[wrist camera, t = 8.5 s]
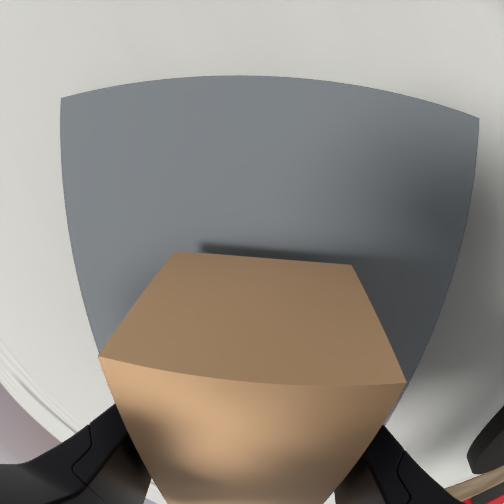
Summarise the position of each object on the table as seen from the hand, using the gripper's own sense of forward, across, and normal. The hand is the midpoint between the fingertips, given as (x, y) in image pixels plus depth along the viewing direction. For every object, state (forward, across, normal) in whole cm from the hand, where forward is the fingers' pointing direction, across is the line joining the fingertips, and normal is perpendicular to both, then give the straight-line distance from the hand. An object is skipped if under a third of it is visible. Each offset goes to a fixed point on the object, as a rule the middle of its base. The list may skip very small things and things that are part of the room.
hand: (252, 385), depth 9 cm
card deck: (+1, 0, 0) cm, 1 cm away
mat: (+3, 0, 0) cm, 3 cm away
